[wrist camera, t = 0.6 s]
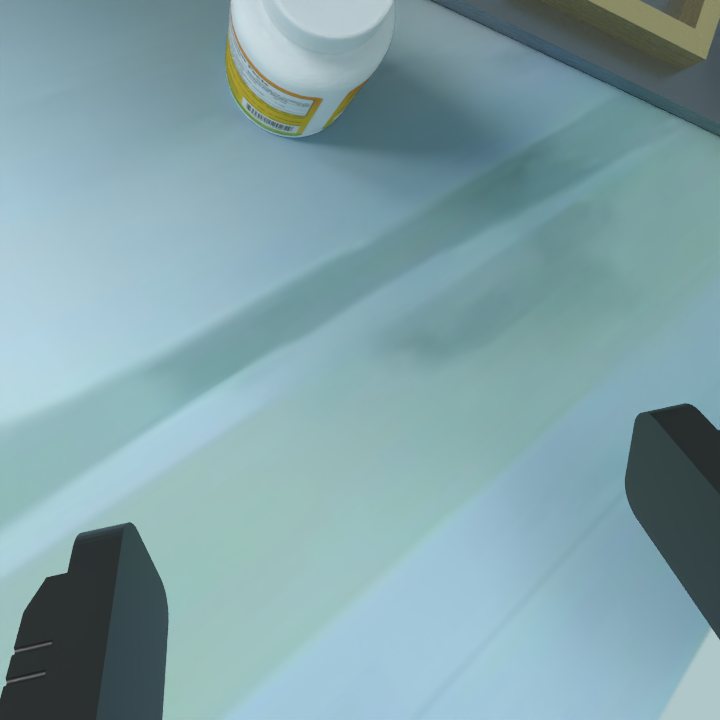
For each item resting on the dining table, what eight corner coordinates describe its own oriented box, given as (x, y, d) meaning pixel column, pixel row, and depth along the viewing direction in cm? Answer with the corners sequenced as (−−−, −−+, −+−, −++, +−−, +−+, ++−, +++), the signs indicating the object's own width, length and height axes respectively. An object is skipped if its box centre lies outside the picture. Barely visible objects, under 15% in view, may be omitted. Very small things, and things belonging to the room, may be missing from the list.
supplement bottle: (331, -5, 28) (396, -155, 19) (365, 123, 29) (445, 42, 19) (206, 21, 27) (209, -123, 17) (246, 153, 28) (269, 83, 18)
